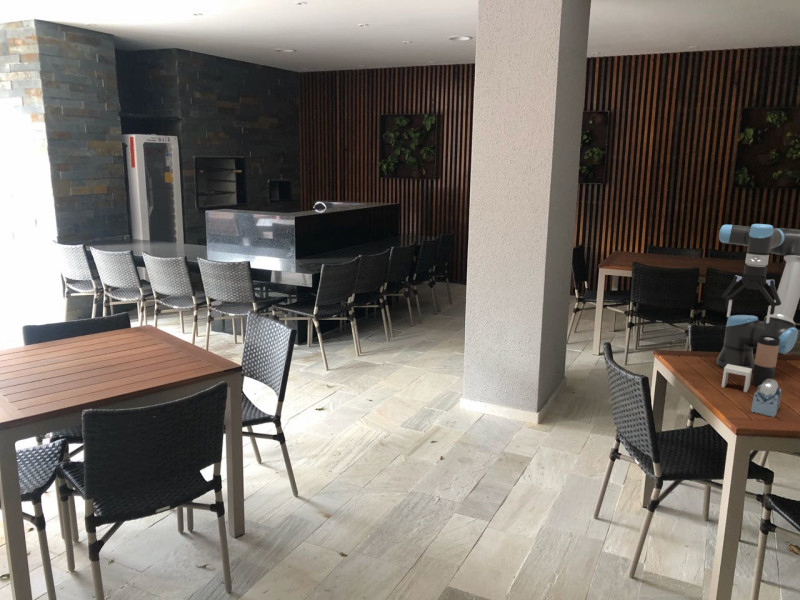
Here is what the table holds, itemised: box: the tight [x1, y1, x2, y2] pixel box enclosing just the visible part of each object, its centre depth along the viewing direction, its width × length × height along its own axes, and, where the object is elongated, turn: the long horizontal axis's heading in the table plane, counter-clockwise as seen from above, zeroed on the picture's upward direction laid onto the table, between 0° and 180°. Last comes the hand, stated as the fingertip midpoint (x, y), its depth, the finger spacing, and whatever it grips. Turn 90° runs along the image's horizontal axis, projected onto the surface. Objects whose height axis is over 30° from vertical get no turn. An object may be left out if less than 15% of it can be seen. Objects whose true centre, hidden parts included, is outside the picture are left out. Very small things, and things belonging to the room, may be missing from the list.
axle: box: [759, 378, 779, 399], centre depth 233 cm, size 10×5×5 cm, turn 144°
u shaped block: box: [721, 364, 753, 393], centre depth 257 cm, size 7×9×8 cm
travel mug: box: [751, 335, 780, 387], centre depth 260 cm, size 8×8×20 cm
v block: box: [750, 384, 782, 418], centre depth 234 cm, size 12×7×8 cm, turn 144°
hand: (747, 319), depth 249 cm, fingers open, 13 cm apart
